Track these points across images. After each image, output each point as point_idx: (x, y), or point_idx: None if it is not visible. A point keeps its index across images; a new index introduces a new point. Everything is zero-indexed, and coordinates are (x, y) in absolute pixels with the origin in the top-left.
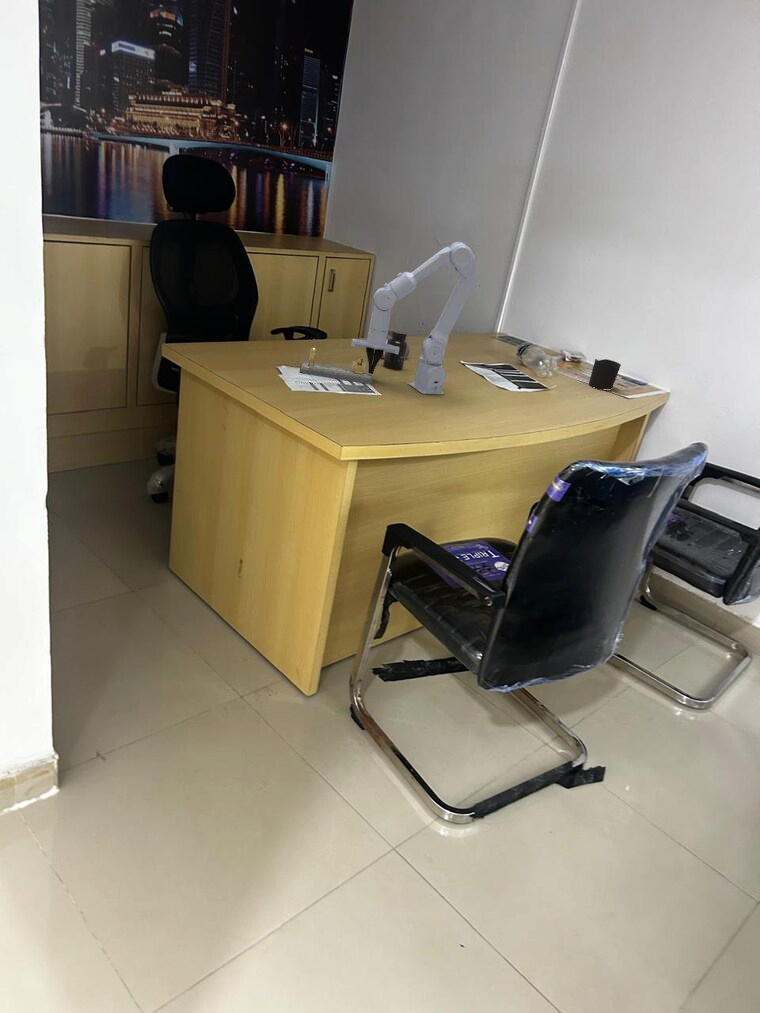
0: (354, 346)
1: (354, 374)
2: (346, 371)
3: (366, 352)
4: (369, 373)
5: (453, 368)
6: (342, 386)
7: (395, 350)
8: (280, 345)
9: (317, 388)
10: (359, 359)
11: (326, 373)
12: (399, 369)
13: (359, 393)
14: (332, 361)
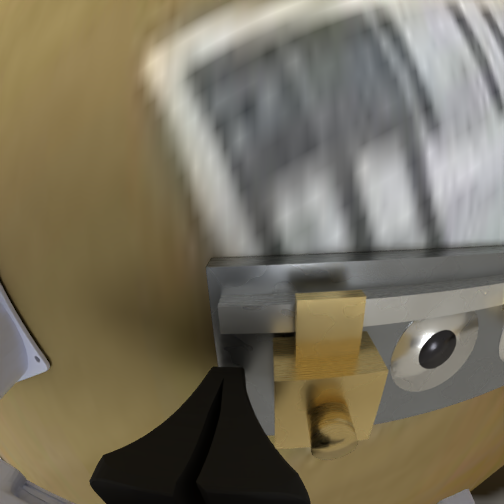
0: (445, 501)
1: None
2: (410, 311)
3: (305, 489)
4: None
5: None
6: (409, 98)
7: (5, 488)
8: (489, 466)
9: (490, 29)
10: (345, 432)
11: (498, 252)
12: None
13: (291, 7)
14: (390, 473)
